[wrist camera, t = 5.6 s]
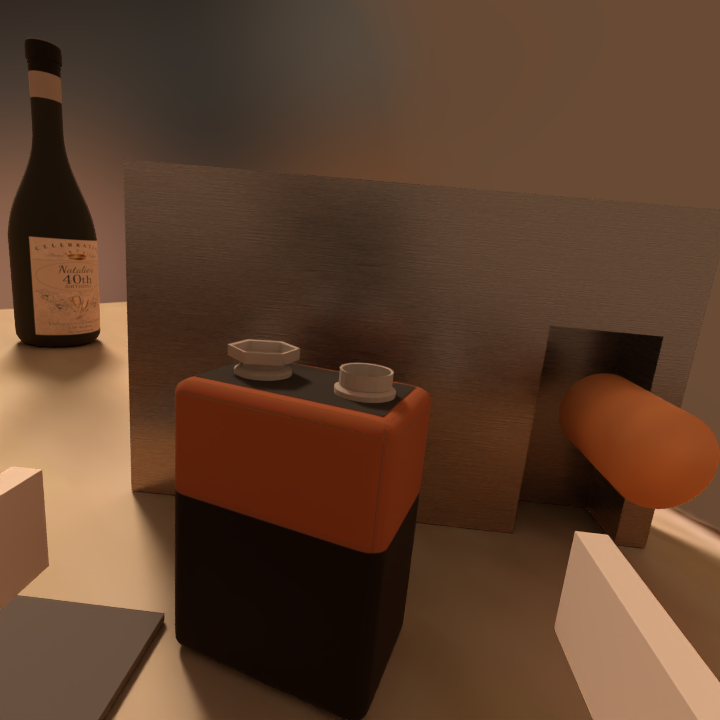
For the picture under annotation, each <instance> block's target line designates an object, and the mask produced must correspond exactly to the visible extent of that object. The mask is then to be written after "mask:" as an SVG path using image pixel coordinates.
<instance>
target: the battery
mask: <svg viewBox="0 0 720 720" xmlns="http://www.w3.org/2000/svg"><path fill="white" fill-rule="evenodd" d="M227 356H229V357H231V358H233V359H235V360H237V361H239V362H237V363H234V364H231V365H228V366H225V367H221V368H218V369H215V370H212V371H209V372H205V373H202V374H199V375H196V376H193V377H190V378H187V379H185V380H183V381H181V382H180V383H179V384H178V385H177V387H176V391H175V634H176V639H177V641H178V642H179V643H180V644H181V645H183V646H185V647H187V648H189V649H192V650H194V651H196V652H198V653H200V654H202V655H205V656H207V657H209V658H211V659H213V660H216V661H218V662H220V663H222V664H224V665H227V666H229V667H231V668H233V669H236V670H238V671H240V672H242V673H244V674H247V675H249V676H251V677H253V678H255V679H258V680H260V681H262V682H264V683H266V684H269V685H271V686H273V687H275V688H277V689H280V690H282V691H284V692H286V693H288V694H291V695H293V696H295V697H297V698H299V699H302V700H304V701H306V702H308V703H310V704H313V705H315V706H317V707H319V708H321V709H324V710H326V711H328V712H330V713H333V714H335V715H337V716H339V717H342V718H344V719H347V720H361V719H362V718H363V717H364V716H365V715H366V713H367V712H368V709H369V707H370V705H371V702H372V700H373V698H374V695H375V693H376V690H377V688H378V685H379V683H380V680H381V678H382V675H383V673H384V670H385V668H386V665H387V663H388V660H389V658H390V655H391V653H392V650H393V648H394V646H395V643H396V641H397V638H398V636H399V633H400V631H401V628H402V624H403V618H404V611H405V603H406V595H407V587H408V580H409V572H410V564H411V556H412V549H413V541H414V533H415V525H416V518H417V510H418V502H419V494H420V487H421V479H422V471H423V463H424V455H425V448H426V440H427V432H428V424H429V417H430V409H431V398H430V396H429V394H428V393H427V392H426V391H425V390H424V389H422V388H420V387H416V386H412V385H408V384H403V383H398V382H393V375H394V372H393V370H391V369H390V368H387V367H384V366H381V365H376V364H369V363H347V364H343V365H341V366H340V372H339V371H333V370H328V369H323V368H317V367H312V366H307V365H301V364H296V363H291V362H294V361H297V360H299V359H300V348H298V347H295V346H293V345H290V344H288V343H285V342H283V341H269V340H252V339H247V340H243V341H239V342H235V343H231V344H228V354H227Z"/></svg>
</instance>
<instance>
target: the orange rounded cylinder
mask: <svg viewBox="0 0 720 720" xmlns="http://www.w3.org/2000/svg"><path fill="white" fill-rule="evenodd" d="M559 423H560V426H561V429H562V431H563V433H564V434H565V436H566V437H567V438H568V439H569V440H570V441H571V442H572V443H573V444H574V445H575V447H576V448H577V449H578V450H579V451H580V452H581V453H582V454H583V455H584V456H585V457H586V458H587V459H588V460H589V461H590V462H591V463H592V464H593V466H594V467H595V468H596V469H597V470H598V471H599V472H600V473H601V474H602V475H603V476H604V477H605V478H606V479H607V480H608V481H609V482H610V483H611V484H612V486H613V487H614V488H615V489H616V490H617V491H618V492H619V493H620V494H621V495H622V496H623V497H624V498H626V499H627V500H628V501H630V502H632V503H634V504H636V505H638V506H642V507H645V508H651V509H666V508H671V507H675V506H679V505H681V504H684V503H686V502H688V501H690V500H691V499H693V498H695V497H696V496H698V495H699V494H700V493H701V492H702V491H703V490H704V489H705V488H706V487H707V486H708V485H709V483H710V482H711V480H712V479H713V477H714V475H715V473H716V470H717V467H718V463H719V446H718V442H717V440H716V437H715V435H714V433H713V432H712V430H711V429H710V428H709V427H708V426H707V425H706V424H705V423H704V422H703V421H701V420H700V419H698V418H697V417H695V416H693V415H691V414H689V413H687V412H685V411H684V410H682V409H680V408H678V407H677V406H675V405H673V404H671V403H669V402H667V401H665V400H664V399H662V398H660V397H658V396H656V395H654V394H653V393H651V392H649V391H647V390H645V389H643V388H642V387H640V386H638V385H636V384H634V383H632V382H630V381H629V380H627V379H625V378H623V377H621V376H618V375H615V374H609V373H600V374H594V375H590V376H587V377H585V378H583V379H581V380H579V381H578V382H576V383H575V384H574V385H573V386H572V387H571V388H570V389H569V390H568V391H567V392H566V394H565V395H564V397H563V399H562V401H561V404H560V408H559Z"/></svg>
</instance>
